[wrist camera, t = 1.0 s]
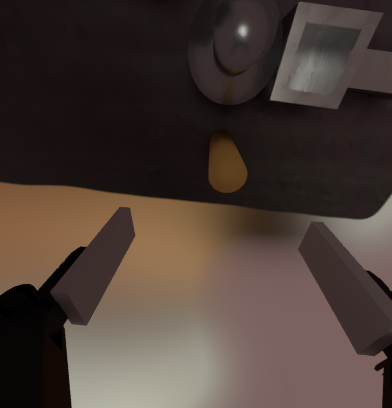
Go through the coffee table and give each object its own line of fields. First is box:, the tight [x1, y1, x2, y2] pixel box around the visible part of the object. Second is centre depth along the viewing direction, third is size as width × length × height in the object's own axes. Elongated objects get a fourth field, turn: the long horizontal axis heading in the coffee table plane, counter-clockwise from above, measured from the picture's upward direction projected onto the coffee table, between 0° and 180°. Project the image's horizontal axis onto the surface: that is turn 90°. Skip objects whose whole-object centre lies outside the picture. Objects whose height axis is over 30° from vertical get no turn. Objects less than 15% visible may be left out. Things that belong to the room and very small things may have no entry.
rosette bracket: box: [188, 0, 392, 109], centre depth 17 cm, size 26×9×14 cm, turn 83°
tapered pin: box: [209, 130, 247, 193], centre depth 22 cm, size 4×4×14 cm
